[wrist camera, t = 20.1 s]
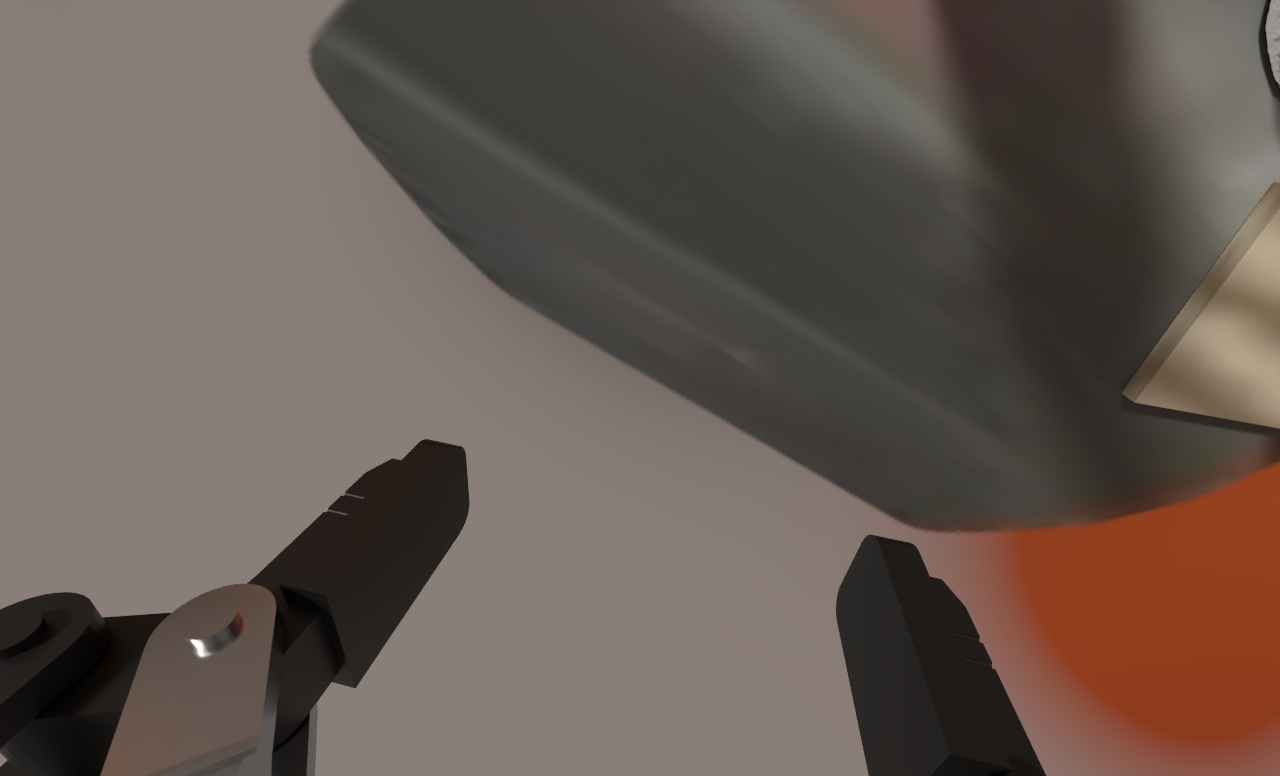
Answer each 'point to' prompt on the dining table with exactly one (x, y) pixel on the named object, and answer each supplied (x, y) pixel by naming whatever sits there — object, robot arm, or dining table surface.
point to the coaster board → (1225, 333)
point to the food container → (1274, 37)
